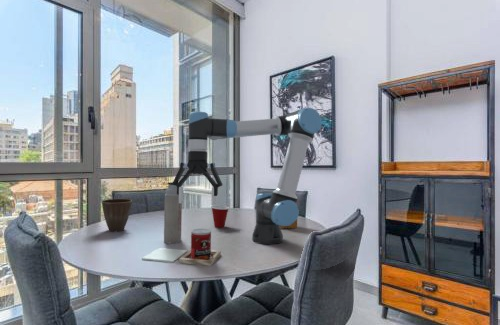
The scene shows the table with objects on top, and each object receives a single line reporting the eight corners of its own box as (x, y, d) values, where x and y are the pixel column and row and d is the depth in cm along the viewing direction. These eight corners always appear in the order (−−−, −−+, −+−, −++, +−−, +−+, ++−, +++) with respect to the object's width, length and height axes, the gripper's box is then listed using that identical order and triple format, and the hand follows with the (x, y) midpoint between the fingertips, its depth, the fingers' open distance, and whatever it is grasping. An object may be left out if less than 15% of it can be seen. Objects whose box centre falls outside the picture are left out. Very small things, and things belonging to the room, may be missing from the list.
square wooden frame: (220, 254, 116) (220, 251, 116) (210, 265, 103) (210, 261, 103) (192, 252, 118) (192, 248, 118) (179, 262, 106) (179, 258, 106)
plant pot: (137, 229, 156) (137, 200, 156) (111, 234, 144) (112, 203, 144) (121, 225, 164) (121, 198, 164) (95, 230, 152) (96, 200, 152)
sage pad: (187, 251, 119) (187, 250, 119) (173, 262, 106) (173, 260, 106) (159, 249, 121) (159, 248, 121) (141, 259, 108) (141, 258, 108)
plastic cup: (228, 229, 160) (228, 208, 160) (209, 228, 160) (209, 207, 160) (229, 224, 171) (230, 205, 171) (212, 224, 171) (212, 204, 171)
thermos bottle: (183, 239, 138) (184, 182, 138) (176, 243, 130) (177, 183, 130) (168, 238, 139) (169, 181, 139) (160, 242, 131) (161, 182, 131)
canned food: (194, 263, 105) (194, 234, 105) (188, 256, 112) (188, 229, 112) (213, 260, 109) (214, 232, 109) (206, 254, 116) (207, 227, 116)
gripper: (230, 151, 115) (229, 203, 115) (172, 150, 119) (171, 201, 119) (225, 150, 107) (224, 206, 107) (164, 150, 111) (163, 203, 111)
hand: (196, 203), depth 113 cm, fingers open, 13 cm apart
